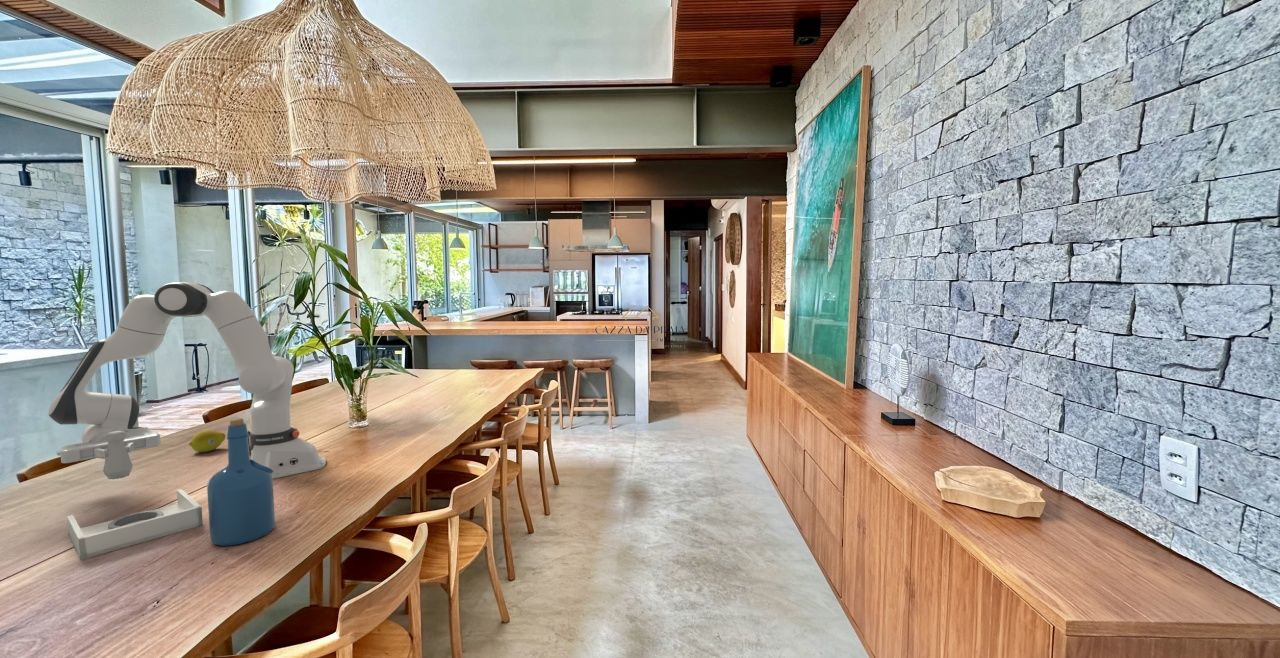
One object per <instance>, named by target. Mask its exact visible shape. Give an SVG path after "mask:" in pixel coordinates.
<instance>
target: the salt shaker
mask: <svg viewBox="0 0 1280 658" xmlns="http://www.w3.org/2000/svg"><path fill="white" fill-rule="evenodd" d="M124 439H126V432H124V431H113V432H109V433H107V434H106V435H105V441H107V442H108V446H107V450H109V454H108V456H107V457H106V458H105V459H104V463H103V465H104V466H103V474H104V475H105V476H106V478H107V479H108V480H118V479H124V478H126V477H129V476H130V474H131V471H132V469H133V463H132V461H131V458H130V455H129V453H128V452H127V449H126V446H125V443H124Z"/></svg>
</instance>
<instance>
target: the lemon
mask: <svg viewBox="0 0 1280 658" xmlns="http://www.w3.org/2000/svg"><path fill="white" fill-rule="evenodd" d="M225 440H226V433H224V432H220V431H217V430H213V429H212V430H211V429H210V430H203V431H200V432H198V433H196V434H195V435H193V437H192V438H191V440H190V441H189V443H188V445H189V446H190V447H191V448H192V449H193V451H195V452H199V453H207V452H212V451H214V450H216V449H218V448H219V447H220V445H221V444H222V443H223V442H224V441H225Z"/></svg>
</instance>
